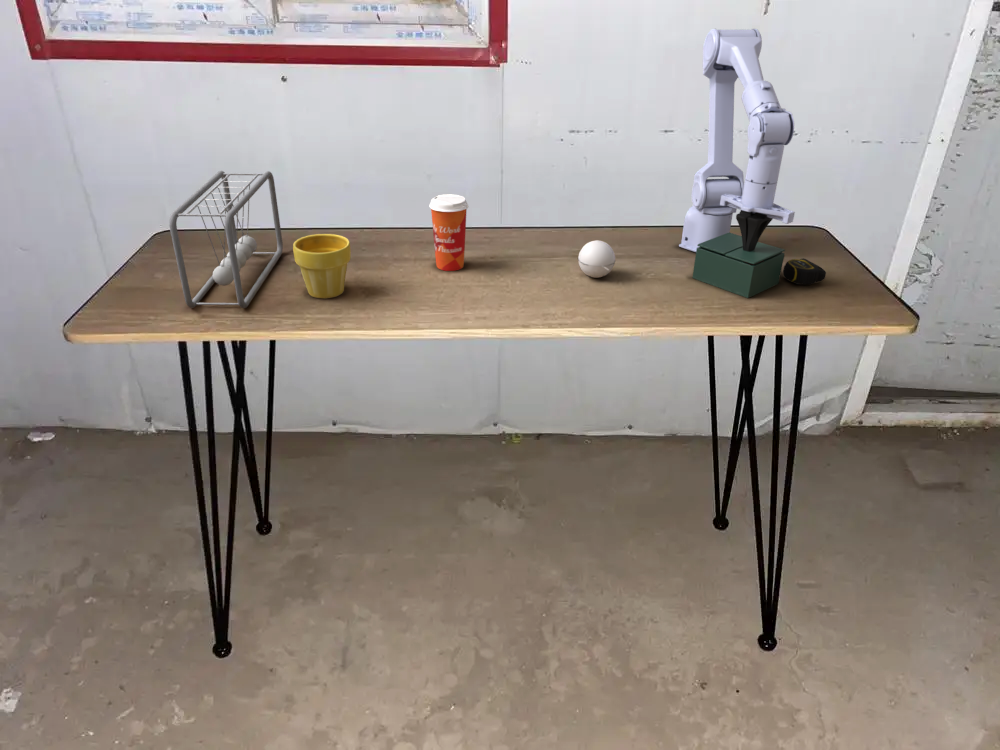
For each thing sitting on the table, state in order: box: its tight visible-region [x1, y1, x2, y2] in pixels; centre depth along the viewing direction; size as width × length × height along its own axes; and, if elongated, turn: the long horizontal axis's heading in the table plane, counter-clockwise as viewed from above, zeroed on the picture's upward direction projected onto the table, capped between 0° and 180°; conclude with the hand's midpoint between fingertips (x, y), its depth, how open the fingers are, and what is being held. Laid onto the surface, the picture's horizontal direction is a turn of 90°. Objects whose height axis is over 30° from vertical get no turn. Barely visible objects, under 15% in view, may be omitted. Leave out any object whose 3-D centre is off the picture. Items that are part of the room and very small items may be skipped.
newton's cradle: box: [168, 170, 284, 309], centre depth 147 cm, size 30×10×18 cm, turn 0°
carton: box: [691, 231, 785, 299], centre depth 152 cm, size 13×11×7 cm
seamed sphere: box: [577, 239, 616, 279], centre depth 152 cm, size 10×7×7 cm
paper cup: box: [429, 193, 470, 272], centre depth 155 cm, size 8×8×14 cm
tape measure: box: [782, 258, 827, 286], centre depth 153 cm, size 7×7×4 cm
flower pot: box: [292, 233, 352, 299], centre depth 145 cm, size 10×10×10 cm
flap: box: [725, 241, 786, 264], centre depth 148 cm, size 6×11×1 cm, turn 132°
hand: (748, 249), depth 149 cm, fingers closed, pressing on flap
